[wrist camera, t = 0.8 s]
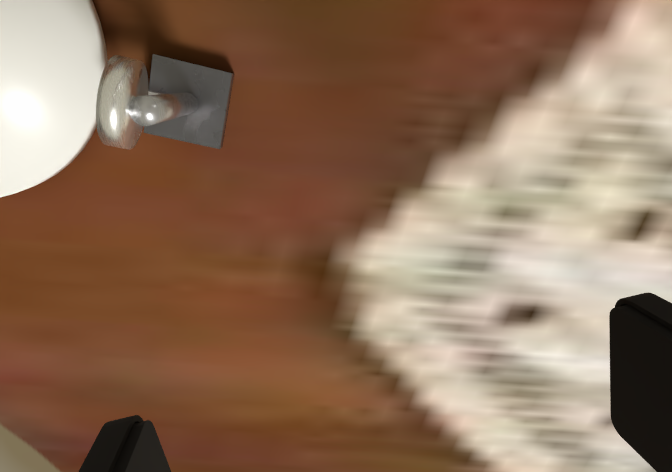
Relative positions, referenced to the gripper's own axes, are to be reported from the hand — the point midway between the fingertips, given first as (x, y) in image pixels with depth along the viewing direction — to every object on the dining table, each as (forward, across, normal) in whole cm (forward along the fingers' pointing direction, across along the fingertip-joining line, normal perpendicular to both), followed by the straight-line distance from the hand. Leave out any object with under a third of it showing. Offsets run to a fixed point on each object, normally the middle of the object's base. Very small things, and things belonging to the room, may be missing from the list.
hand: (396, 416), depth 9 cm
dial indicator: (+33, +8, -7) cm, 35 cm away
